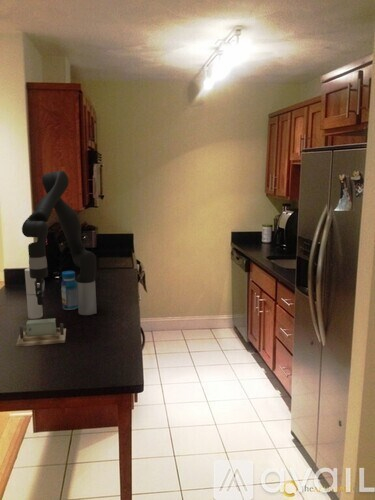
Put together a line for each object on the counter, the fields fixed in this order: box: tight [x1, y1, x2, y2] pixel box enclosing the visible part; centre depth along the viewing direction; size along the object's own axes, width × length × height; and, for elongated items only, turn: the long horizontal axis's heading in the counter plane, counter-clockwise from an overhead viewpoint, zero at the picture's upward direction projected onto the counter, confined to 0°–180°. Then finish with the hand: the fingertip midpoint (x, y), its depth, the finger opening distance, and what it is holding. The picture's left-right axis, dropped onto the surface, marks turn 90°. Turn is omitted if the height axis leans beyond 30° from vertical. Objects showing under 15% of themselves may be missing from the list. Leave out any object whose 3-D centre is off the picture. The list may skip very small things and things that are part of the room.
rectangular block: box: [25, 317, 57, 337], centre depth 195 cm, size 12×6×7 cm, turn 103°
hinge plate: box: [15, 322, 67, 348], centre depth 196 cm, size 20×14×6 cm
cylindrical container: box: [24, 267, 44, 320], centre depth 222 cm, size 7×7×25 cm
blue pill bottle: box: [60, 270, 78, 311], centre depth 236 cm, size 8×8×20 cm
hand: (41, 301), depth 194 cm, fingers open, 8 cm apart
